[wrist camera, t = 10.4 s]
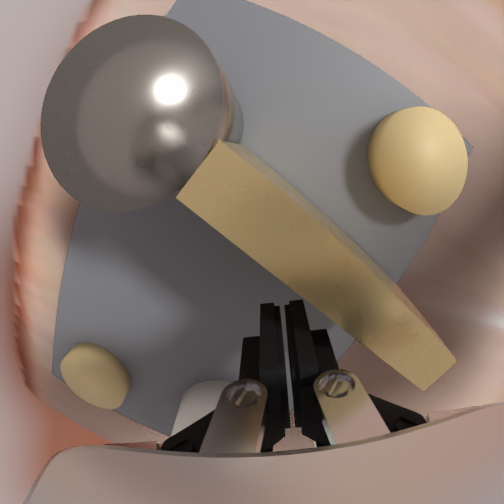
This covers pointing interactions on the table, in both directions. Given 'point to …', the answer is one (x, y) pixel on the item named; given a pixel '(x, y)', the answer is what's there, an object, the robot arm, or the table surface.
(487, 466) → the robot arm
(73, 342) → the base
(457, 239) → the table surface
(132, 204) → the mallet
